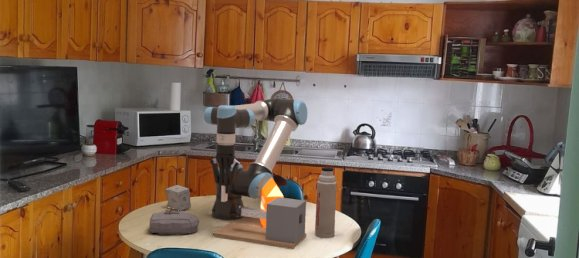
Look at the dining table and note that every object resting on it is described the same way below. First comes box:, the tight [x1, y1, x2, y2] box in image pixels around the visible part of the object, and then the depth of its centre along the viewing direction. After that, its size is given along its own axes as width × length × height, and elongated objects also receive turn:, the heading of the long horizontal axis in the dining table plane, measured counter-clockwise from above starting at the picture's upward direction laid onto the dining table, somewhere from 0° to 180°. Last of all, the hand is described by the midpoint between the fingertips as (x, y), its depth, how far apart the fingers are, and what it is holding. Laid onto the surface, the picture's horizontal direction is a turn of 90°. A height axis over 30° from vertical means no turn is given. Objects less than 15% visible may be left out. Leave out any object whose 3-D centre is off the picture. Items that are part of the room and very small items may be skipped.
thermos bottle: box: [314, 166, 338, 239], centre depth 217 cm, size 8×8×28 cm
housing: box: [212, 197, 307, 250], centre depth 212 cm, size 34×16×16 cm, turn 70°
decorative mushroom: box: [273, 174, 288, 189], centre depth 263 cm, size 11×11×15 cm
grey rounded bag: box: [148, 209, 201, 235], centre depth 217 cm, size 15×8×20 cm
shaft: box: [235, 204, 266, 220], centre depth 212 cm, size 18×5×5 cm, turn 70°
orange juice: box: [259, 177, 285, 227], centre depth 226 cm, size 8×9×20 cm
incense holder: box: [164, 184, 192, 211], centre depth 249 cm, size 10×8×10 cm
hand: (224, 200), depth 217 cm, fingers closed
